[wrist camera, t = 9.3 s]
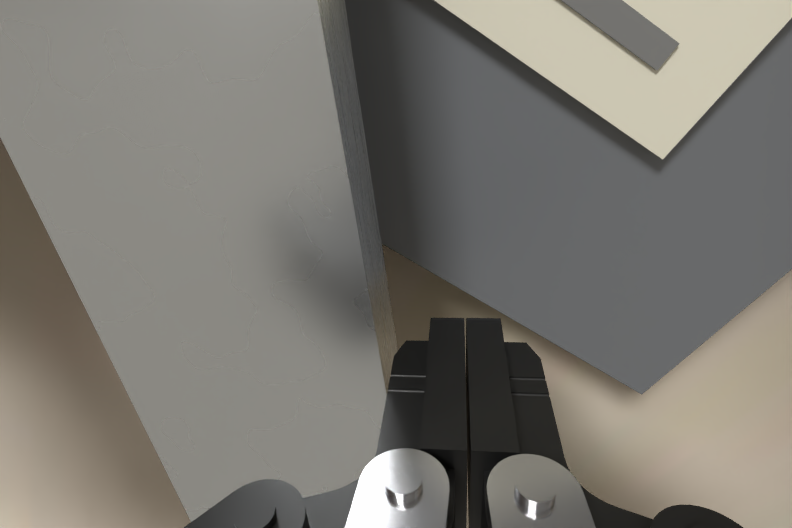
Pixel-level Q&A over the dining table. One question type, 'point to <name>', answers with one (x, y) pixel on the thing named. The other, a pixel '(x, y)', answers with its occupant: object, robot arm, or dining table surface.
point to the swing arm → (213, 224)
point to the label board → (585, 161)
